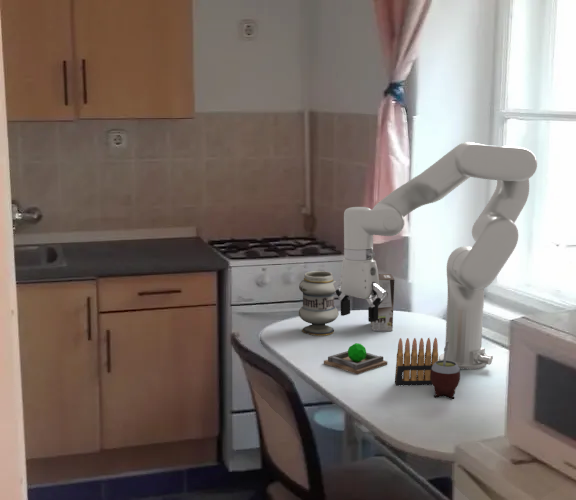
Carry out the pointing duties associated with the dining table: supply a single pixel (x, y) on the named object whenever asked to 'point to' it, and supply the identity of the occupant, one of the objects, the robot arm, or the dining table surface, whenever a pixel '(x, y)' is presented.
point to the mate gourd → (445, 377)
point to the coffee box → (385, 304)
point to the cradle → (355, 367)
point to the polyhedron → (357, 352)
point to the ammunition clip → (415, 363)
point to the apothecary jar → (318, 302)
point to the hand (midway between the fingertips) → (359, 317)
